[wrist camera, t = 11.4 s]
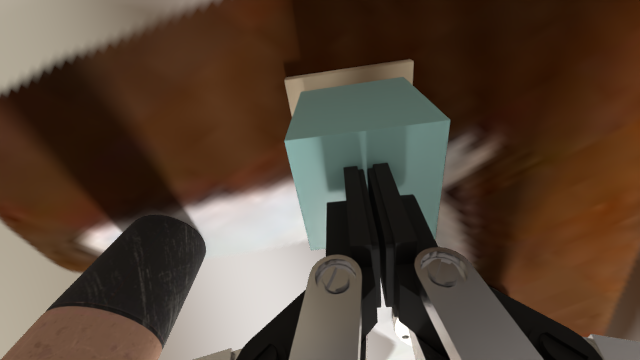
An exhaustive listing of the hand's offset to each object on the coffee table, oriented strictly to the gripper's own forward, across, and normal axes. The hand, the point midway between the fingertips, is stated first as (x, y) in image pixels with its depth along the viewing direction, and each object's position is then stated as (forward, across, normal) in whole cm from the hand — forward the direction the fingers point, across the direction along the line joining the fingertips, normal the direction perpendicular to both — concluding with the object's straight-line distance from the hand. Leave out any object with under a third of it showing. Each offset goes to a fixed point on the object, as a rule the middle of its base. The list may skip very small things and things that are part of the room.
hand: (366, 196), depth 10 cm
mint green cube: (+7, 0, 0) cm, 7 cm away
